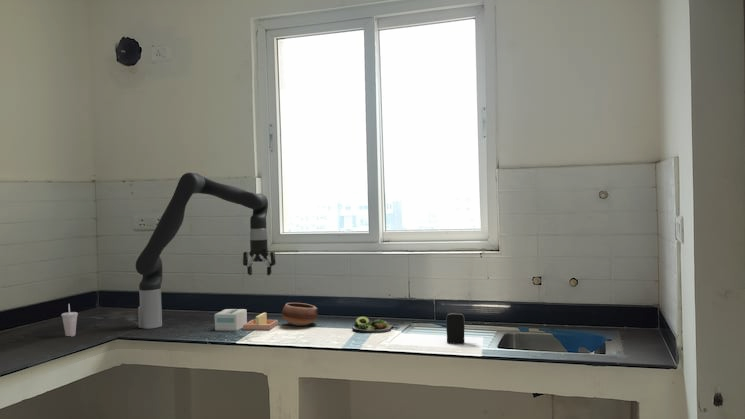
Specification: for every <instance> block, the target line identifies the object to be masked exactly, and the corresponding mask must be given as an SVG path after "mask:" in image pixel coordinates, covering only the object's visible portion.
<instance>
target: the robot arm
mask: <svg viewBox="0 0 745 419" xmlns="http://www.w3.org/2000/svg"><path fill="white" fill-rule="evenodd" d="M193 194H203V195H204V194H205V195H209V196H213V197H216V198H218V199H220V200H223V201H226V202H229V203H233V204H236V205H240V206H243V207H245V208H247V209H251V210H252V215H251V216H250V220H249V225H250V226H249V227H250V229H249V230H250V231H249V244H250V246H249V247H250V248H249V249H250V251H244V252H242V253H243V255H242V257H243V258H242V261H243V262H242V264H243V266H245V267H247V268H246V269H247V274H248V276H252V275H253V267H252V266H253V264H254V263H255V262H256V263H257V262H261V263H262V262H263V263H264V264H265V265H266V275H267V276H270V275H271V274H272V267H273V266H276V262H277V261H276V253H275V251H268V250H269V249H268V237H269V236H268V232H267V230H268V228H267V215H268V210H269V203H268V202H269V201H268V198H267V196H266V195H265V194H263V193H254V192H250V191H247V190H246V189H243V188H240V187H237V186H234V185H233V186H232V185H229V184H224V183H220V182H217V181H214V180H211V179H209V178H207V177H205V176H203V175H201V174H199V173H196V172H186V173H184V174H182V175H181V177H180V178H179V180H178V182H177V185H176V188H175V190H174V192H173V195H172V197H171V199H170V201H169V202H168V205H167V206H166V208H165V209H164V212H163V214H162V215H161V217H160V219H159V221H158V222H157V225H156V227H155V229H154V231H153V232H152V234H151V235H150V236H151V237H150V238H149V240H148V243H147V244H146V246H145V247H144V249H143V250H142V251H141V253H140V254H139V256H138V258H137V259H136V261H135V269H136V273H138V274H139V275H141V276H142V279H141V281H140V282H139V285H138V286H139V290H138V292H139V306H138V307H137V314H138V315H137V316H138V328H141V329H147V330H148V329H157V328H161V327H162V326H163V314H162V313H163V311H162V310H163V309H162V308H163V307H162V305H163V304H162V282H163V260H162V257H160V255H161V254H162V252H163V251H164V249H165V248H166V247H167V246H168V245H169V243H171V242H172V240H173V239H174V238H175V236H176V235H177V233H178V232H179V230H180V229H181V226H182V225H183V222H184V219H185V212H186V207H187V205H188V202H189V200H190V199H191V198H192V196H193ZM268 256H269V258H270V259H269V258H268ZM249 257H251V258H250V260H249ZM248 260H249V261H248Z"/></svg>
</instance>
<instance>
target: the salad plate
mask: <svg viewBox="0 0 745 419" xmlns="http://www.w3.org/2000/svg"><path fill="white" fill-rule="evenodd" d="M395 326H399V324H397V323H393V322H388V321H387V320H384V319H379V318H378V319H374V320H373V321H372V320H370V318H368V317H367V316H357V317H356V319H355V323H354V324H353V325H352V328H351V330H352V331H353V332H355V333H359V332H360V333H361V334H365V333H366V334H368V333H369V334H370V333H371V334H372V333H373V334H374V333H386V332H389V331H391V329H392V328H393V327H395Z"/></svg>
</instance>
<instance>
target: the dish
mask: <svg viewBox="0 0 745 419" xmlns="http://www.w3.org/2000/svg"><path fill="white" fill-rule="evenodd" d="M278 325H279V320H278V319H267V324H265V325H256V319H251V320H249V321H247V323H246V324H244V325H243V327H242V328H243V331H271V330H273V329H274V328H276V327H277V326H278Z"/></svg>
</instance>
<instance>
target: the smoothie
mask: <svg viewBox="0 0 745 419" xmlns="http://www.w3.org/2000/svg"><path fill="white" fill-rule="evenodd" d="M67 306H68V312H63V313H61V316H60V317H61V318H62V323H63V330H64V334H65V337H66V336H71V337H75V336H76V333H77V332H76V330H77V322H78V321H77V320H78V315H79V313H78V312H76V311H71V306H70V303H68V305H67Z"/></svg>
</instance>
